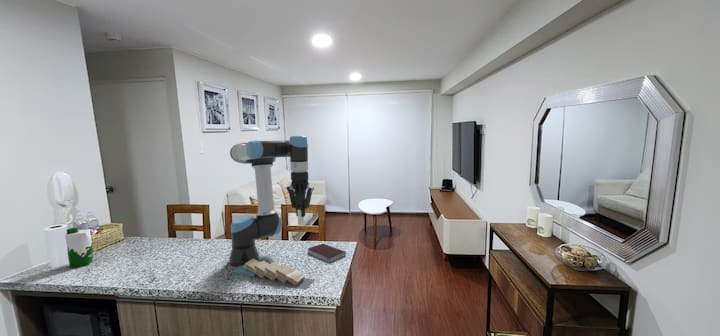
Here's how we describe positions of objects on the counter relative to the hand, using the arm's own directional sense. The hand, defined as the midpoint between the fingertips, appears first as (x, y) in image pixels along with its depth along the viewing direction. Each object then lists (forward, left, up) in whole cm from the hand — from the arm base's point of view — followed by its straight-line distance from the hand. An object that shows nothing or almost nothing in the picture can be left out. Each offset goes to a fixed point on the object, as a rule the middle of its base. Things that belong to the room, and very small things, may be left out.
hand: (301, 223), depth 124 cm
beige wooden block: (-13, 0, -27) cm, 30 cm away
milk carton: (-124, -22, -29) cm, 129 cm away
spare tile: (-25, 0, -27) cm, 37 cm away
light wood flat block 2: (-7, 0, -27) cm, 28 cm away
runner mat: (-12, 0, -28) cm, 31 cm away
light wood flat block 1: (-20, 0, -27) cm, 33 cm away
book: (-5, +33, -29) cm, 44 cm away
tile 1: (-1, 0, -27) cm, 27 cm away
